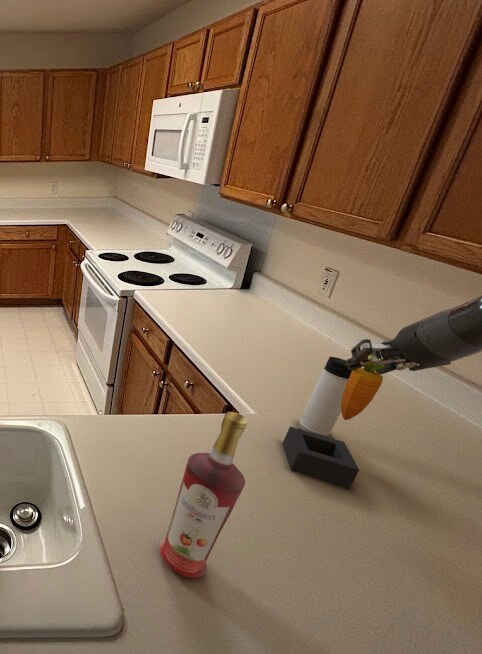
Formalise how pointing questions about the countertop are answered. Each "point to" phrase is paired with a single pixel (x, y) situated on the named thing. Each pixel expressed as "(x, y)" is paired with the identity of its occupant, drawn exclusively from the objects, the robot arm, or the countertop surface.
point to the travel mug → (326, 398)
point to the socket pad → (320, 457)
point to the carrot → (360, 389)
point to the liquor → (204, 501)
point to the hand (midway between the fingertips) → (363, 367)
